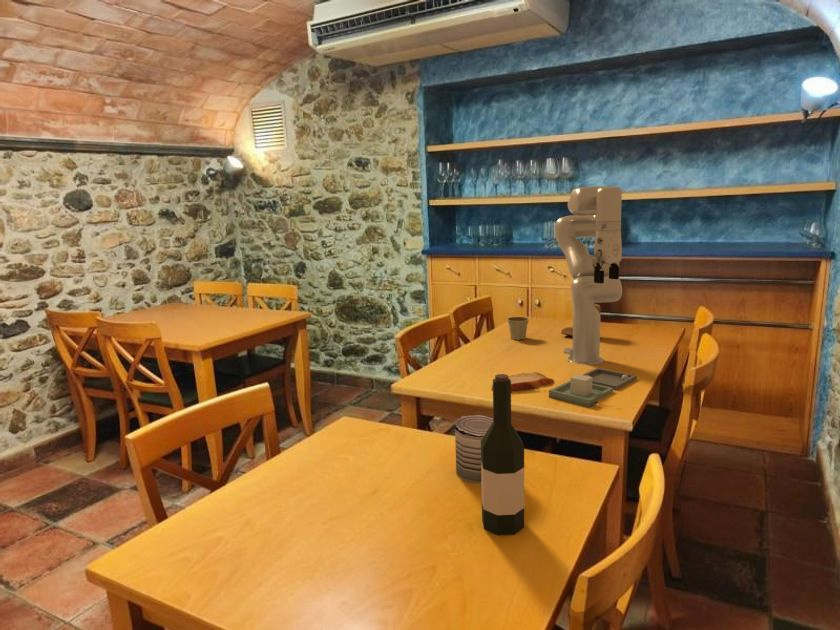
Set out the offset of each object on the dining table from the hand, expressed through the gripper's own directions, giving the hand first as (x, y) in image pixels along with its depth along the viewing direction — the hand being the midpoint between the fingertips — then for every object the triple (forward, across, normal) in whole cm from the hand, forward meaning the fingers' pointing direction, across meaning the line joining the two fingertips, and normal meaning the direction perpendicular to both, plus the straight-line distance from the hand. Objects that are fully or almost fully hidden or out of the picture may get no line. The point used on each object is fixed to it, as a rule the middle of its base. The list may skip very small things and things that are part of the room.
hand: (606, 280), depth 190 cm
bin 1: (+33, -18, -2) cm, 38 cm away
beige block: (+32, -18, -2) cm, 37 cm away
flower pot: (+34, +29, +55) cm, 71 cm away
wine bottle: (+34, -91, -27) cm, 101 cm away
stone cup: (+34, +48, +35) cm, 68 cm away
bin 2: (+33, -2, -2) cm, 33 cm away
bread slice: (+34, -21, +17) cm, 44 cm away
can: (+34, -77, -10) cm, 85 cm away
